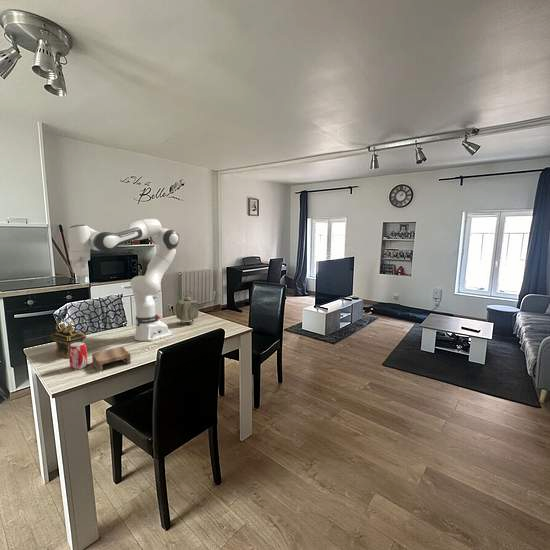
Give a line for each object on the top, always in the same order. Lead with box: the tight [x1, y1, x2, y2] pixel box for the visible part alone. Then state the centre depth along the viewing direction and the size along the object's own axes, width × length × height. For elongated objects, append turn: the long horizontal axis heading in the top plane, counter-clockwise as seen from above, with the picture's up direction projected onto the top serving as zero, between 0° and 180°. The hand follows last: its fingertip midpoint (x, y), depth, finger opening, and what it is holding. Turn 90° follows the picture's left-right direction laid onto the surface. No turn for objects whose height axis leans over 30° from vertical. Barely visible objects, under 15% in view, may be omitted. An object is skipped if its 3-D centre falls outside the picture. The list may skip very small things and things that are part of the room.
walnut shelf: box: [91, 346, 131, 373], centre depth 144 cm, size 14×13×5 cm
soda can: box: [68, 341, 88, 371], centre depth 138 cm, size 7×7×12 cm
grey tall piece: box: [175, 290, 200, 326], centre depth 210 cm, size 14×9×25 cm, turn 136°
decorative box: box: [49, 317, 87, 359], centre depth 154 cm, size 20×10×20 cm, turn 65°
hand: (80, 283), depth 146 cm, fingers open, 8 cm apart
